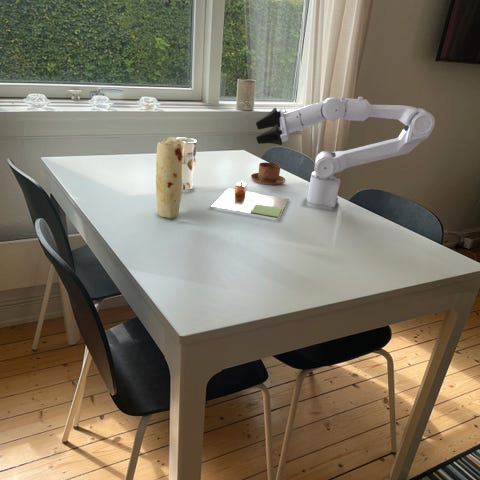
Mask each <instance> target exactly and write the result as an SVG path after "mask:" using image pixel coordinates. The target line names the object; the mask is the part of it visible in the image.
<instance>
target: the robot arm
mask: <svg viewBox="0 0 480 480" xmlns="http://www.w3.org/2000/svg"><path fill="white" fill-rule="evenodd" d="M368 118H378V119H388V120H389V119H390V120H398V121H399V122H400V123H402V124H403V125H404V127H403V129H402V130H401V131H400V134H399V135H398V136H397V137H396V138H395V137H394V138H391V139H387V140H383V141H379V142H376V143H371V144H367V145H363V146H359V147H355V148H351V149H347V150H337V151H330V150H329V151H328V150H323V151H320V152H319V153H318V154H317V155H316V156H315V159H314V171H312V172H311V173H310V174H311V175H310V180H309V186H308V192H307V196H306V201H307V203H310V204H312V205H315V206H321V207H322V206H323V207H330V208H336V205H337V204H338V201H339V197H338V196H339V190H340V187H341V186H340V185H341V182H342V180H341V179H340V178H336V175H335V174H337V173H341V172H343V171H345V170H346V169H349V168H352V167H353V168H354V167H357V166H360V165H366V164H369V163H374V162H377V161H382V160H386V159H390V158H395V157H398V156H403V155H407V154H409V153H410V152H411V151H413V150H414V149H415V148H416V147H417V146H419V145H420V144H421V143H422V142H423V141H425V140H426V139H428V138H429V136H430V135H431V133H432V132H433V130H434V128H435V125H436V119H435V116H434V115H433V114H432V113H430V112H428V110H426V109H425V108H422V107H416V106H410V105H403V104H402V105H401V104H371V103H370V102H369V101H368V100H367V99H366V98H365V99H364V97H363V96H358V97H357V98H348V97H347V98H346V97H345V96H342V95H341V96H340V99H339V98H338V97H336V96H327V97H326V98H325V99H324V100H323V101H318V102H317V103H311V104H308V105H305V106H302V107H299V108H297V109H293V110H290V111H287V110H286V107H282V108H279V109H278V110H277V107H274V108H273V109H272V110H271V111H270V112H269V113H268V114H267V115H265V116H264V117H262V118H260V119H259V120H257V121H256V122H255V125H256V128H257V130H263V129H267V128H268V129H269V128H271V129H269V130H267V131H264V132H263V133H260V134H258V135H256V136H255V139H256V141H257V144H258V145H260V144H274V145H278V146H283V143H284V142H288V141H289V140H290V139H289V138H290V134H291V133H292V134H293V133H295V132H297V131H301V130H305V129H307V128H310V127H314V126H316V125H320V123H325V122H327V120H328V121H331V122H336V121H338V120H339V119H340V120H341V121H353V122H365V121H366V120H367V119H368Z"/></svg>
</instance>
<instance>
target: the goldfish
mask: <svg viewBox="0 0 480 480" xmlns="http://www.w3.org/2000/svg"><path fill="white" fill-rule="evenodd" d="M247 186H248V183H246V182H245V181H243V180H241V181H238V182H237V183H236V184H235V187H234V189H235V195H237V196H244V195H245V194H246V191H247Z"/></svg>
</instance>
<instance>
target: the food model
mask: <svg viewBox="0 0 480 480" xmlns="http://www.w3.org/2000/svg"><path fill="white" fill-rule="evenodd" d="M176 138H177V137H175V136H169V137H165V138H163V139H162V140H161V142H160V141H158V143H157V145H156V166H155V193H156V194H155V196H156V198H155V199H156V212H157V214H158V216H160V217H162V218H166V219H170V220H171V219H175V218H176V217H177V216H178V214H179V212H180V207H181V200H182V190H183V189H182V145H181V142H180V141H179V140H178V139H176Z"/></svg>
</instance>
